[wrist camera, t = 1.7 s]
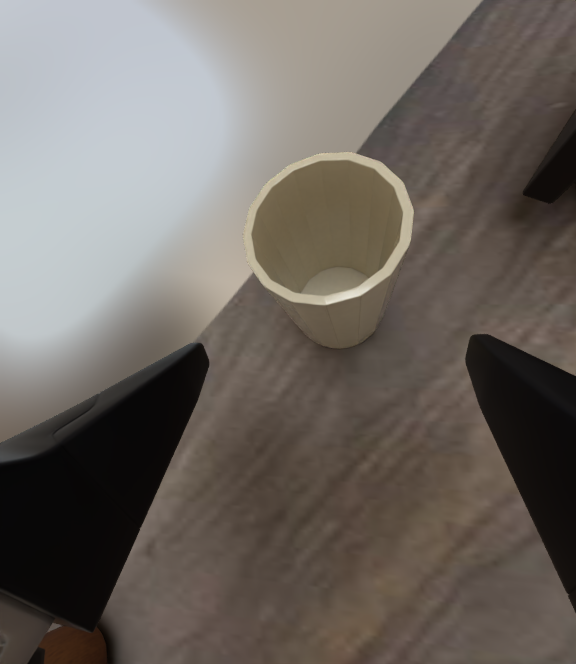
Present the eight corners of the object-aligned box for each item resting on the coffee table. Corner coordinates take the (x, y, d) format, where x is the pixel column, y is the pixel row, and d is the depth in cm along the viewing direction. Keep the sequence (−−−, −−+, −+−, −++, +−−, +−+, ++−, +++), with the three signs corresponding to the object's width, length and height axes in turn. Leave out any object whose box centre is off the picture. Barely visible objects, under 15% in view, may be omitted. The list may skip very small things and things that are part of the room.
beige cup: (377, 355, 20) (402, 314, 10) (289, 341, 22) (228, 295, 11) (389, 269, 21) (421, 148, 11) (303, 263, 23) (261, 155, 13)
